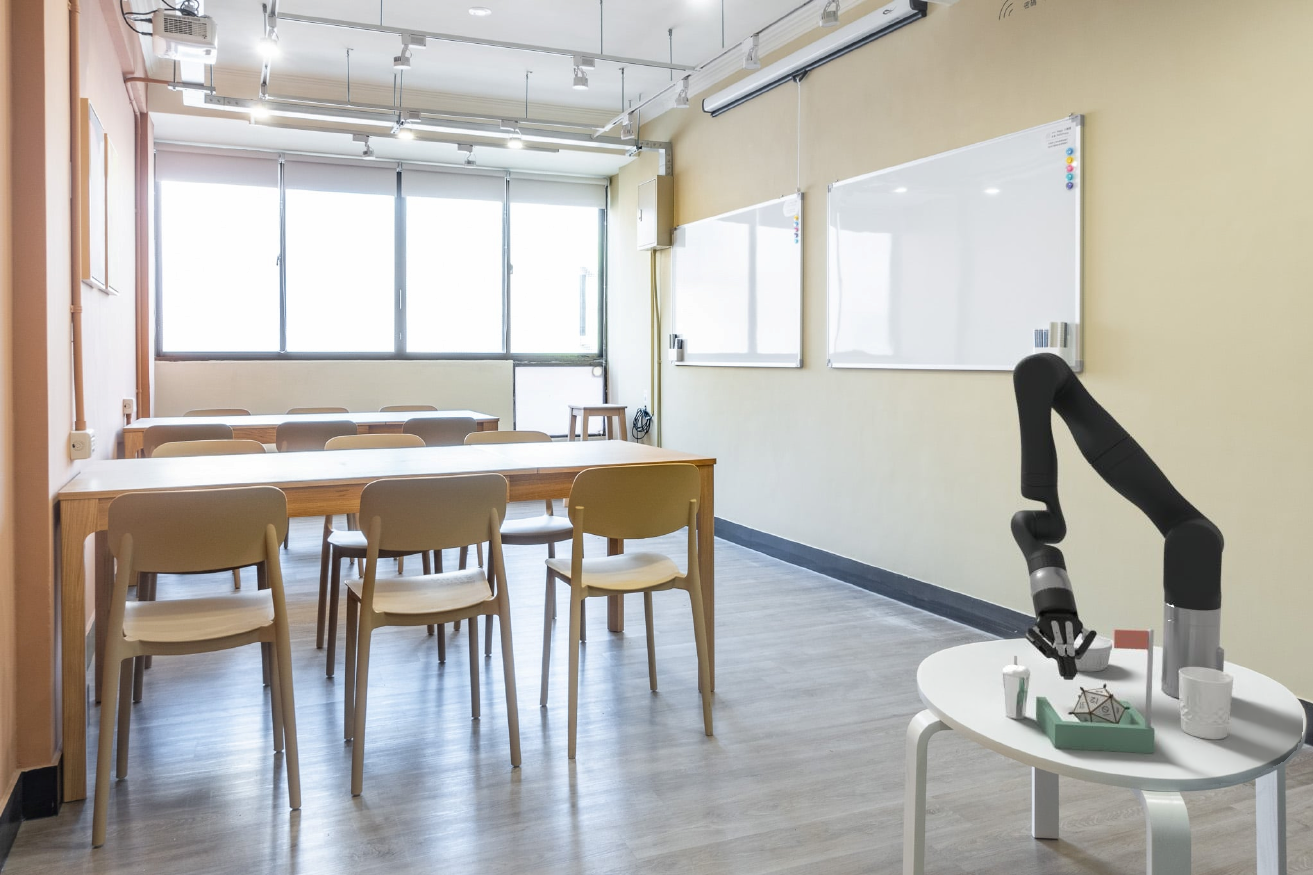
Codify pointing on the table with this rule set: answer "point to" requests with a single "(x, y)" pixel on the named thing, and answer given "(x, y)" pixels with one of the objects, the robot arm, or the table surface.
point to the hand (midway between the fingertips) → (1069, 677)
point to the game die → (1098, 707)
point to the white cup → (1205, 702)
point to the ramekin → (1093, 654)
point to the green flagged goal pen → (1107, 736)
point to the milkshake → (1016, 689)
